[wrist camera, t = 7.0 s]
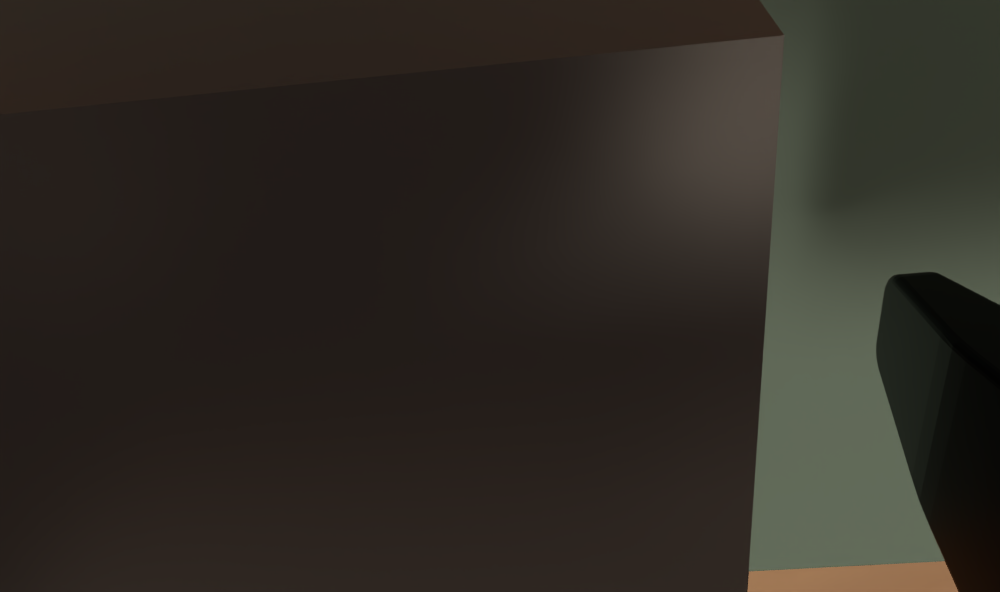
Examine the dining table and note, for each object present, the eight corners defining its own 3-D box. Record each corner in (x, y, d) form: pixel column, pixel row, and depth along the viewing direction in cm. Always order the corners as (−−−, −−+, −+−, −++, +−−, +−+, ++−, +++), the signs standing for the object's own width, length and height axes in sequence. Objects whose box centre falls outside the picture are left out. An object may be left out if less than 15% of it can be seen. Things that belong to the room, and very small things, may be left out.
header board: (1324, -527, 7) (2686, -876, 3) (1014, 504, 14) (1248, 901, 9) (-465, -256, 9) (-1571, -179, 4) (41, 559, 15) (-163, 927, 11)
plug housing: (623, -193, 8) (784, 37, 3) (644, 514, 13) (717, 1036, 8) (137, -133, 8) (-466, 162, 3) (345, 531, 13) (235, 1040, 8)
